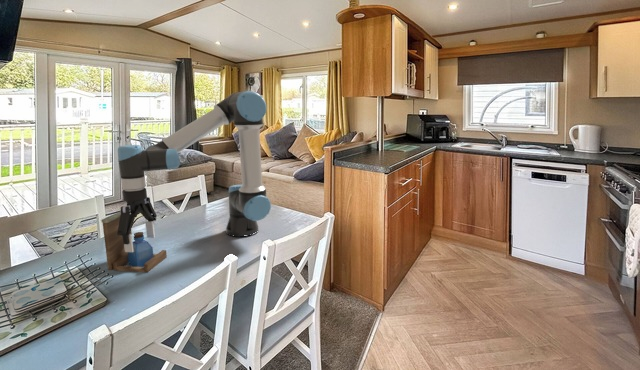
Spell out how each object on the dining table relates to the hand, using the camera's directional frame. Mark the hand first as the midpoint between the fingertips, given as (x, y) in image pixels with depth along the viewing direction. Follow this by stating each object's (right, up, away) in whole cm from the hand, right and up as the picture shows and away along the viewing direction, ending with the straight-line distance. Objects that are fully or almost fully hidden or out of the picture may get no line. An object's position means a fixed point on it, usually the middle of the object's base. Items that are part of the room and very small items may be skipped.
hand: (140, 244), depth 125 cm
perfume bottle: (0, -8, +1) cm, 8 cm away
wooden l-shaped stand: (-2, -7, +1) cm, 8 cm away
